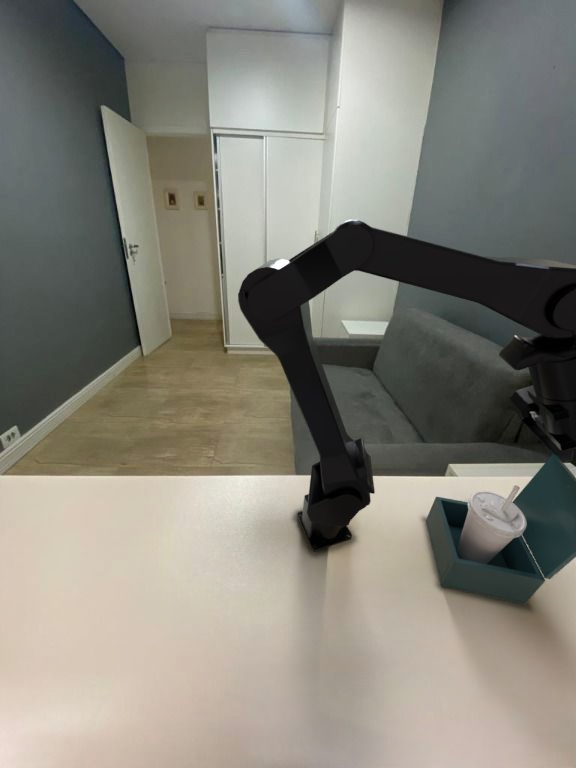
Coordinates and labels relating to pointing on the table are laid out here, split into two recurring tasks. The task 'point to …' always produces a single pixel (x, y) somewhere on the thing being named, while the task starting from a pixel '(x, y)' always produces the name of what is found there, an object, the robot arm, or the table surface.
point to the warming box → (495, 579)
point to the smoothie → (490, 525)
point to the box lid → (550, 516)
